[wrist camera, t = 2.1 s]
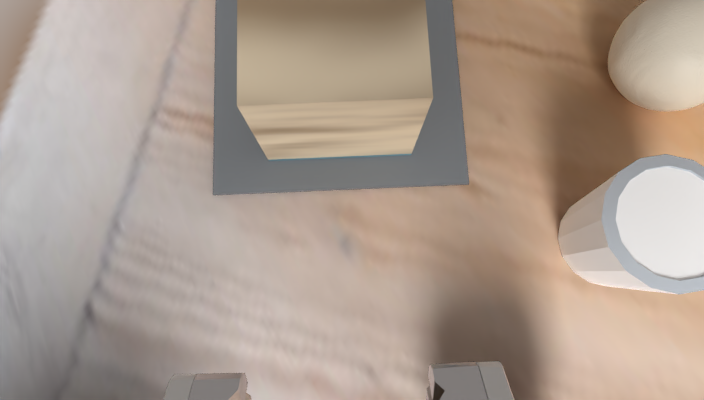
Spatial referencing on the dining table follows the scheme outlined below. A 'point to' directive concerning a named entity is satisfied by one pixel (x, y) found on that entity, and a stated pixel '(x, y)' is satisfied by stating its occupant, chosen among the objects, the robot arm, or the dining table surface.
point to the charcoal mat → (340, 173)
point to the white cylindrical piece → (640, 228)
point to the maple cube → (333, 76)
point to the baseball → (660, 55)
